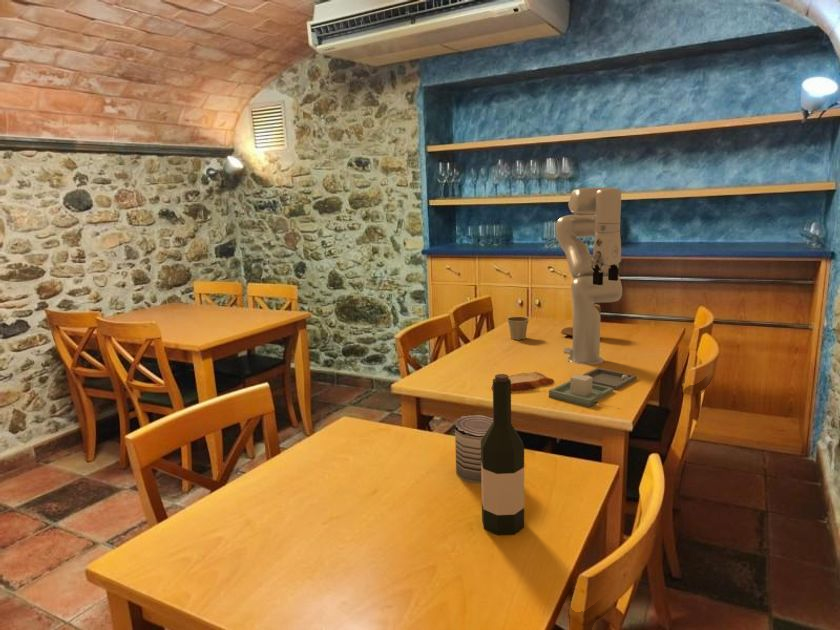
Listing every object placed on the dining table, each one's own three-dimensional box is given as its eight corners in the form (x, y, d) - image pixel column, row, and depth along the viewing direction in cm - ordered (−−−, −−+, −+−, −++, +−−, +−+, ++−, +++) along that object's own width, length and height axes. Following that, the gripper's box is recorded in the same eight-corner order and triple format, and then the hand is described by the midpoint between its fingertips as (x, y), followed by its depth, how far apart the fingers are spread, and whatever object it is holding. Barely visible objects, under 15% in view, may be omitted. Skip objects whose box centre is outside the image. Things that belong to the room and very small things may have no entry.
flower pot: (507, 335, 260) (506, 316, 258) (528, 335, 259) (528, 316, 257) (507, 341, 251) (507, 321, 249) (529, 341, 250) (529, 321, 248)
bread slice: (487, 392, 190) (487, 381, 190) (505, 375, 206) (505, 365, 205) (542, 399, 182) (542, 387, 182) (557, 381, 198) (557, 371, 197)
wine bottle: (495, 540, 110) (493, 385, 104) (473, 518, 117) (470, 373, 111) (533, 529, 113) (533, 378, 107) (509, 508, 120) (509, 366, 114)
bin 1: (548, 397, 183) (548, 390, 182) (572, 385, 192) (572, 379, 192) (590, 407, 173) (590, 400, 173) (613, 394, 183) (613, 388, 182)
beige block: (570, 392, 183) (570, 377, 182) (577, 389, 186) (578, 374, 185) (584, 396, 179) (585, 380, 178) (592, 392, 182) (592, 377, 181)
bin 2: (575, 384, 194) (576, 376, 193) (597, 373, 203) (597, 366, 203) (616, 393, 184) (616, 384, 184) (636, 381, 194) (636, 374, 193)
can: (467, 457, 144) (466, 410, 142) (511, 465, 139) (511, 417, 136) (447, 477, 134) (445, 428, 132) (494, 487, 129) (494, 436, 126)
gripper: (604, 231, 177) (602, 287, 181) (631, 226, 189) (629, 279, 193) (582, 230, 183) (580, 285, 186) (609, 226, 194) (608, 277, 198)
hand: (605, 282), depth 190 cm, fingers open, 9 cm apart
